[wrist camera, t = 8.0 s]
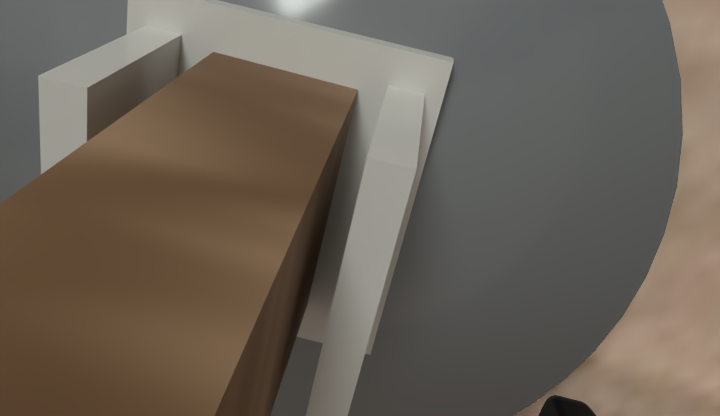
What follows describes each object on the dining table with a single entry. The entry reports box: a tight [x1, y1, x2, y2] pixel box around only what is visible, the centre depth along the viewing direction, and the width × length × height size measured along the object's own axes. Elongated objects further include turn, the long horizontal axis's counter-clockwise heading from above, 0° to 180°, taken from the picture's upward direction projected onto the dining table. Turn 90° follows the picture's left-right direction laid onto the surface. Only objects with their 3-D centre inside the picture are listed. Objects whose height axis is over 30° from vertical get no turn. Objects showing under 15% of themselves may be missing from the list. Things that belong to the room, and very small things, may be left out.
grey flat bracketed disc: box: [0, 0, 683, 416], centre depth 11 cm, size 14×14×4 cm
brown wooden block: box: [0, 52, 358, 416], centre depth 8 cm, size 2×4×8 cm, turn 167°
